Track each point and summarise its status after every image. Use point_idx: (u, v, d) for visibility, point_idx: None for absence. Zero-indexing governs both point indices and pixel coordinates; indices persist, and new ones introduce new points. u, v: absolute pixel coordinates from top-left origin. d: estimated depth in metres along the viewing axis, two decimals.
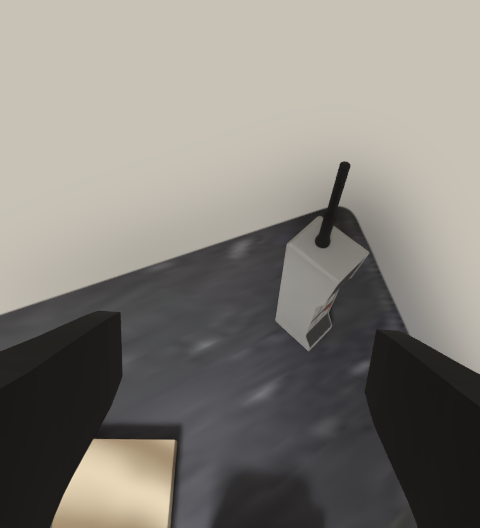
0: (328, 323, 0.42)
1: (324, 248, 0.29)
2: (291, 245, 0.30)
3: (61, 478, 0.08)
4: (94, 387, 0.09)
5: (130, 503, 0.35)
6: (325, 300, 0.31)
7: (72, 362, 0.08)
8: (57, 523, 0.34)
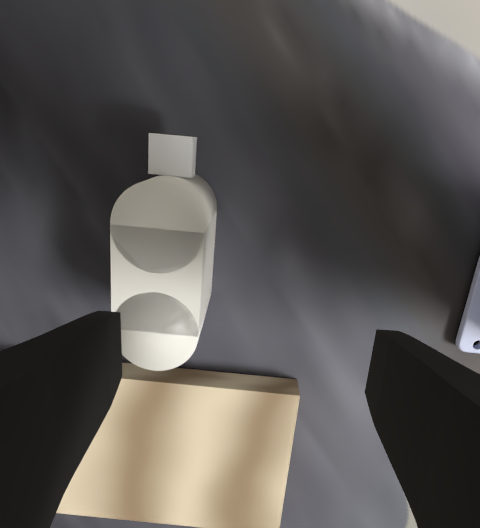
0: None
1: None
2: None
3: (61, 478, 0.08)
4: (94, 387, 0.09)
5: (99, 429, 0.22)
6: None
7: (72, 362, 0.08)
8: (127, 514, 0.24)
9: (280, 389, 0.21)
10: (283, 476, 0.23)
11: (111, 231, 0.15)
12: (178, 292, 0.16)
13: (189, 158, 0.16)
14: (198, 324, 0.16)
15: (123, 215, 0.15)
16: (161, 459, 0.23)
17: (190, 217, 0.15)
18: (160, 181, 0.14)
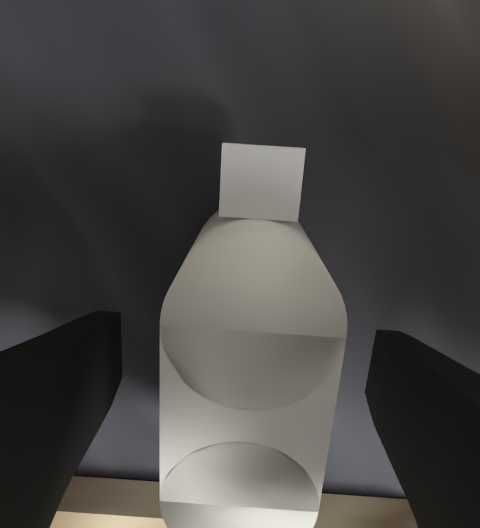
0: None
1: None
2: None
3: (61, 478, 0.08)
4: (94, 387, 0.09)
5: None
6: None
7: (72, 362, 0.08)
8: None
9: (401, 525, 0.14)
10: None
11: (162, 338, 0.08)
12: (287, 441, 0.08)
13: (296, 187, 0.09)
14: (319, 492, 0.09)
15: (186, 308, 0.07)
16: None
17: (320, 310, 0.07)
18: (264, 242, 0.07)
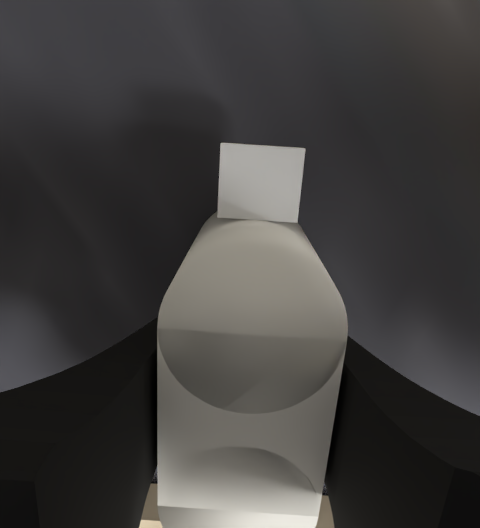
0: None
1: None
2: None
3: (144, 484, 0.08)
4: None
5: None
6: None
7: (155, 368, 0.08)
8: None
9: None
10: None
11: (159, 341, 0.08)
12: (286, 445, 0.08)
13: (296, 188, 0.09)
14: (320, 496, 0.09)
15: (184, 311, 0.07)
16: None
17: (320, 312, 0.07)
18: (263, 244, 0.07)
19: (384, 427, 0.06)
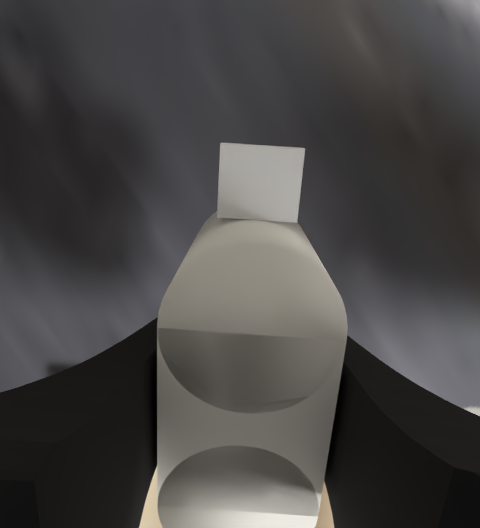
0: None
1: None
2: None
3: (145, 483, 0.08)
4: None
5: None
6: None
7: (155, 368, 0.08)
8: None
9: None
10: None
11: (159, 341, 0.08)
12: (286, 445, 0.08)
13: (295, 188, 0.09)
14: (319, 496, 0.09)
15: (184, 311, 0.07)
16: None
17: (320, 312, 0.07)
18: (262, 244, 0.07)
19: (385, 427, 0.06)
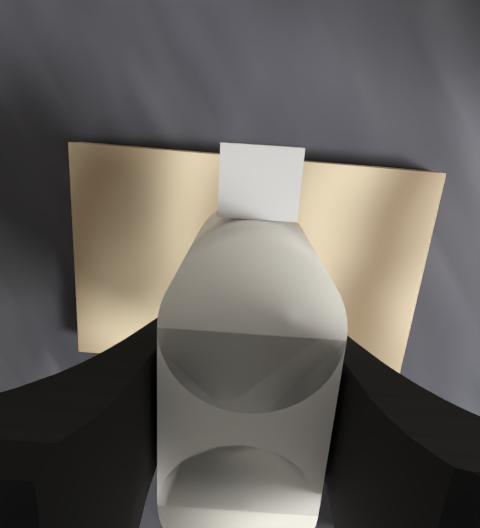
0: None
1: None
2: None
3: (145, 484, 0.08)
4: None
5: (187, 231, 0.18)
6: None
7: (155, 368, 0.08)
8: None
9: (418, 170, 0.17)
10: (413, 293, 0.18)
11: (159, 340, 0.08)
12: (286, 445, 0.08)
13: (295, 188, 0.09)
14: (319, 496, 0.09)
15: (184, 311, 0.07)
16: None
17: (320, 312, 0.07)
18: (262, 243, 0.07)
19: (384, 427, 0.06)
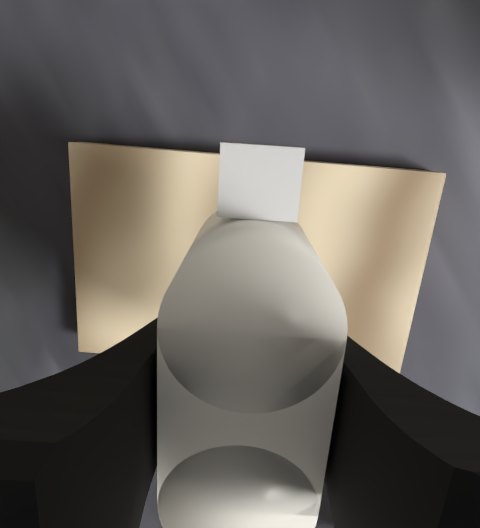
0: None
1: None
2: None
3: (145, 484, 0.08)
4: None
5: (187, 231, 0.18)
6: None
7: (155, 368, 0.08)
8: None
9: (418, 170, 0.17)
10: (413, 293, 0.18)
11: (159, 340, 0.08)
12: (286, 445, 0.08)
13: (295, 188, 0.09)
14: (319, 496, 0.09)
15: (184, 311, 0.07)
16: None
17: (320, 312, 0.07)
18: (262, 243, 0.07)
19: (384, 427, 0.06)
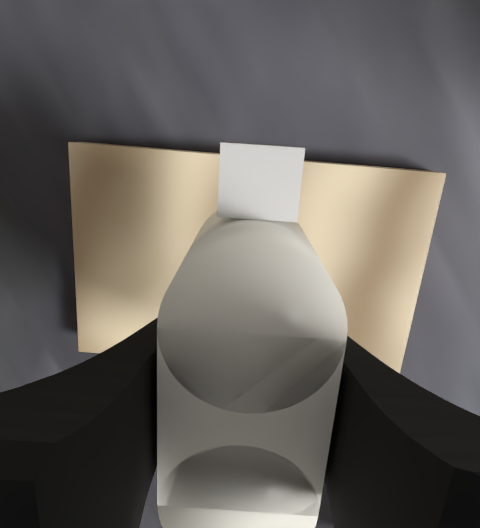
0: None
1: None
2: None
3: (145, 484, 0.08)
4: None
5: (187, 231, 0.18)
6: None
7: (155, 368, 0.08)
8: None
9: (418, 170, 0.17)
10: (413, 293, 0.18)
11: (159, 340, 0.08)
12: (286, 445, 0.08)
13: (295, 188, 0.09)
14: (319, 496, 0.09)
15: (184, 311, 0.07)
16: None
17: (320, 312, 0.07)
18: (262, 243, 0.07)
19: (384, 427, 0.06)
